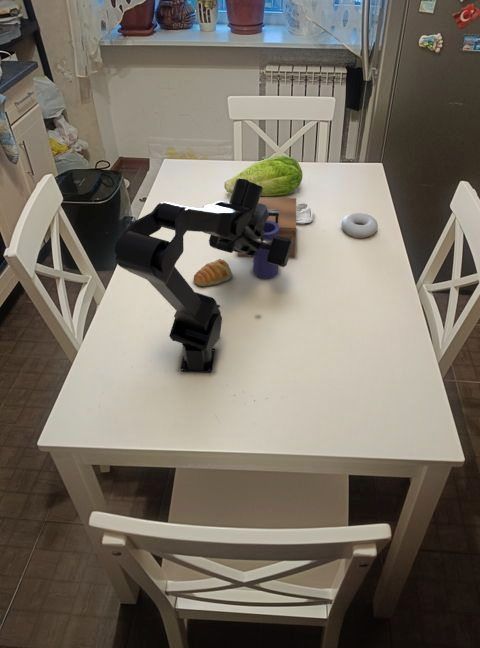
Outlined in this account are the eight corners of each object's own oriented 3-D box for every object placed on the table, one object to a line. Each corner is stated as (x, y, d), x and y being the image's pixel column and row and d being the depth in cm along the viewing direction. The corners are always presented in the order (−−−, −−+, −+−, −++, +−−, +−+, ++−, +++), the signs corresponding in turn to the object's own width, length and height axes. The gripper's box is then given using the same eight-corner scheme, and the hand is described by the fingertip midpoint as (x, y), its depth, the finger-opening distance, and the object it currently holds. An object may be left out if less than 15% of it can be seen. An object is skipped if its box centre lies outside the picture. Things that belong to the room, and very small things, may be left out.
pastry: (203, 292, 122) (202, 280, 120) (188, 279, 126) (186, 267, 124) (234, 278, 127) (234, 265, 124) (219, 265, 130) (218, 253, 128)
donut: (348, 218, 148) (335, 234, 141) (349, 207, 146) (337, 223, 139) (381, 226, 145) (370, 243, 138) (383, 216, 142) (372, 232, 136)
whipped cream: (313, 229, 145) (316, 214, 141) (290, 227, 145) (292, 212, 141) (311, 212, 150) (314, 198, 147) (289, 210, 150) (291, 196, 146)
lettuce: (217, 170, 158) (222, 162, 146) (290, 155, 163) (302, 146, 151) (225, 208, 160) (232, 203, 148) (298, 193, 165) (310, 187, 152)
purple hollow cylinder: (281, 276, 127) (283, 231, 119) (258, 281, 126) (258, 236, 117) (272, 262, 132) (273, 218, 123) (250, 267, 130) (249, 223, 121)
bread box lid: (296, 230, 126) (297, 215, 123) (236, 228, 127) (236, 213, 124) (296, 200, 137) (296, 186, 134) (241, 199, 138) (240, 184, 135)
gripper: (292, 208, 104) (307, 228, 119) (211, 189, 109) (236, 210, 124) (275, 260, 104) (293, 273, 119) (196, 238, 109) (222, 254, 124)
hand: (261, 251), depth 121 cm, fingers open, 9 cm apart
